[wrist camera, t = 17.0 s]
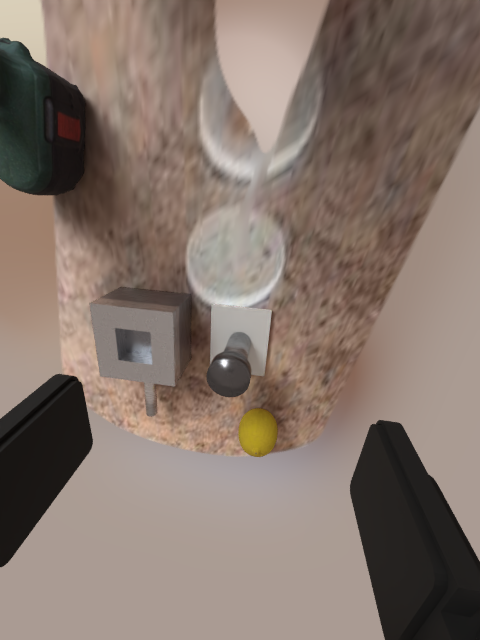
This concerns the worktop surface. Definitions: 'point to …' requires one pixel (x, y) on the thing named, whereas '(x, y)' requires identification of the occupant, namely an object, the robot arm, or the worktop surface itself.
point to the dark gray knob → (231, 367)
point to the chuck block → (143, 337)
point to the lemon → (258, 432)
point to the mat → (245, 321)
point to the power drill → (38, 125)
